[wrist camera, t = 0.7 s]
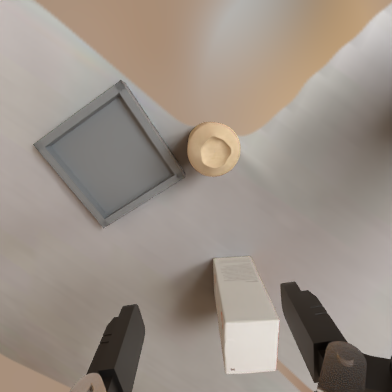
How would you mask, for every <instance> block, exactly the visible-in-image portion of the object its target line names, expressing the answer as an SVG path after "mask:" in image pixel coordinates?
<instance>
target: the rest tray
mask: <svg viewBox="0 0 392 392" xmlns="http://www.w3.org/2000/svg"><path fill="white" fill-rule="evenodd" d="M33 145H34V146H35V147H36V149H37V150H38V151H39V152H40V153H41V155H42V156H43V157H44V158H45V159H46V160H47V162H48V163H49V164H50V165H51V166H52V168H53V169H54V170H55V171H56V172H57V174H58V175H59V176H60V177H61V178H62V179H63V181H64V182H65V183H66V184H67V185H68V187H69V188H70V189H71V190H72V191H73V193H74V194H75V195H76V196H77V197H78V198H79V200H80V201H81V202H82V203H83V204H84V206H85V207H86V208H87V209H88V210H89V211H90V213H91V214H92V215H93V216H94V217H95V219H96V220H97V221H98V222H99V223H100V225H101V226H102V227H103V228H105V227H106V226H108V225H110V224H111V223H113V222H114V221H116V220H118V219H119V218H121V217H122V216H124V215H126V214H127V213H129V212H130V211H132V210H134V209H135V208H137V207H138V206H140V205H142V204H143V203H145V202H146V201H148V200H150V199H151V198H153V197H154V196H156V195H158V194H159V193H161V192H162V191H164V190H166V189H167V188H169V187H170V186H172V185H174V184H175V183H177V182H178V181H180V180H181V179H183V178H185V172H184V171H183V169H182V168H181V166H180V165H179V163H178V162H177V160H176V159H175V157H174V156H173V154H172V153H171V151H170V150H169V148H168V147H167V145H166V144H165V142H164V141H163V139H162V138H161V136H160V135H159V133H158V132H157V130H156V129H155V127H154V126H153V124H152V123H151V121H150V119H149V118H148V116H147V115H146V113H145V112H144V110H143V109H142V107H141V106H140V104H139V103H138V101H137V100H136V98H135V97H134V95H133V94H132V92H131V91H130V89H129V88H128V86H127V85H126V83H125V82H123V81H121V80H120V81H119V82H118V83H116V84H115V85H113V86H112V87H111V88H109V89H108V90H107V91H105V92H104V93H103V94H101V95H100V96H98V97H97V98H96V99H94V100H93V101H92V102H90V103H89V104H88V105H86V106H85V107H84V108H82V109H81V110H79V111H78V112H77V113H75V114H74V115H73V116H71V117H70V118H69V119H67V120H66V121H64V122H63V123H62V124H60V125H59V126H58V127H56V128H55V129H54V130H52V131H51V132H50V133H48V134H47V135H45V136H44V137H43V138H41V139H40V140H39V141H37V142H36V143H35V144H33Z"/></svg>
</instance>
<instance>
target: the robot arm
mask: <svg viewBox="0 0 392 392" xmlns="http://www.w3.org/2000/svg"><path fill="white" fill-rule="evenodd" d="M280 287H281V301H282V309H283V313H284V316H285V319H286V321H287V323H288V326H289V328H290V330H291V332H292V334H293V337H294V339H295V341H296V343H297V346H298V348H299V350H300V352H301V354H302V357H303V359H304V361H305V363H306V366H307V368H308V370H309V372H310V375H311V377H312V379H313V381H314V383H317V382H318V386H317V390H316V392H392V356H391V359H385V358H380V357H374V356H369V355H366V354H364V353H362V352H361V351H360V350H359V349H358V348H356V347H355V346H353V345H352V344H349V343H348V342H347V341H346V340H345V338H344V337H343V335H342V334H341V332H340V331H339V329H338V328H337V326H336V325H335V323H334V322H333V320H332V319H331V317H330V316H329V315H328V314H327V312H326V310H325V309H324V307H323V306H322V304H321V303H320V301H319V300H318V298H317V297H316V296H315V295H313V294H312V293H311V292H309V291H308V290H306V291H301V290H300V289H299V287H298V285H297V284H296V282H289V283H282V284H281V285H280ZM144 336H145V326H144V323H143V319H142V316H141V313H140V310H139V307H138V305H137V304H134V305H127V306H123V307H122V309H121V312H120V314H119V317H114V318H113V319H112V321H111V322H110V323H109V324H108V325H107V327H106V330H105V332H104V334H103V337H102V339H101V341H100V345H99V346H98V349H97V351H96V353H95V356H94V358H93V360H92V363H91V365H90V367H89V370H88V372H87V374H86V375H85V376H83V377H82V378H80V379H79V380H78V381H77V382H76V383H75V384H74V386H73V387H72V389H71V390H70V392H132V388H133V384H134V380H135V375H136V371H137V367H138V363H139V358H140V354H141V350H142V345H143V341H144ZM314 392H315V391H314Z"/></svg>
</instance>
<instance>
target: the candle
mask: <svg viewBox="0 0 392 392" xmlns="http://www.w3.org/2000/svg"><path fill="white" fill-rule="evenodd" d="M187 154H188V158H189V161H190V163H191V165H192V166H193V167H194V169H195V170H196V171H198V172H199V173H201V174H203V175H206V176H212V177H214V176H220V175H223V174H225V173H227V172H229V171H230V170H231V169H232V168H233V167H234V166H235V165H236V163H237V161H238V159H239V156H240V142H239V139H238V137H237V135H236V134H235V132H234V131H233V130H232V129H231V128H229V127H228V126H226V125H224V124H221V123H215V122H204V123H201V124H199V125H197V126H196V127H195V128H194V129H193V130H192V131H191V133H190V135H189V139H188V146H187Z"/></svg>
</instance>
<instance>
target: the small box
mask: <svg viewBox="0 0 392 392" xmlns="http://www.w3.org/2000/svg"><path fill="white" fill-rule="evenodd" d="M213 275H214V296H215V303H216V309H217V316H218V323H219V331H220V338H221V345H222V352H223V360H224V366H225V373H226V374H241V373H255V372H268V371H276V368H277V354H278V340H279V324H280V319H279V318H278V315H277V313H276V311H275V309H274V306H273V304H272V302H271V300H270V298H269V296H268V293H267V291H266V289H265V287H264V285H263V282H262V280H261V278H260V276H259V274H258V271H257V269H256V267H255V265H254V262H253V260H252V258H251V256H242V257H225V258H214V259H213Z"/></svg>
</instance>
